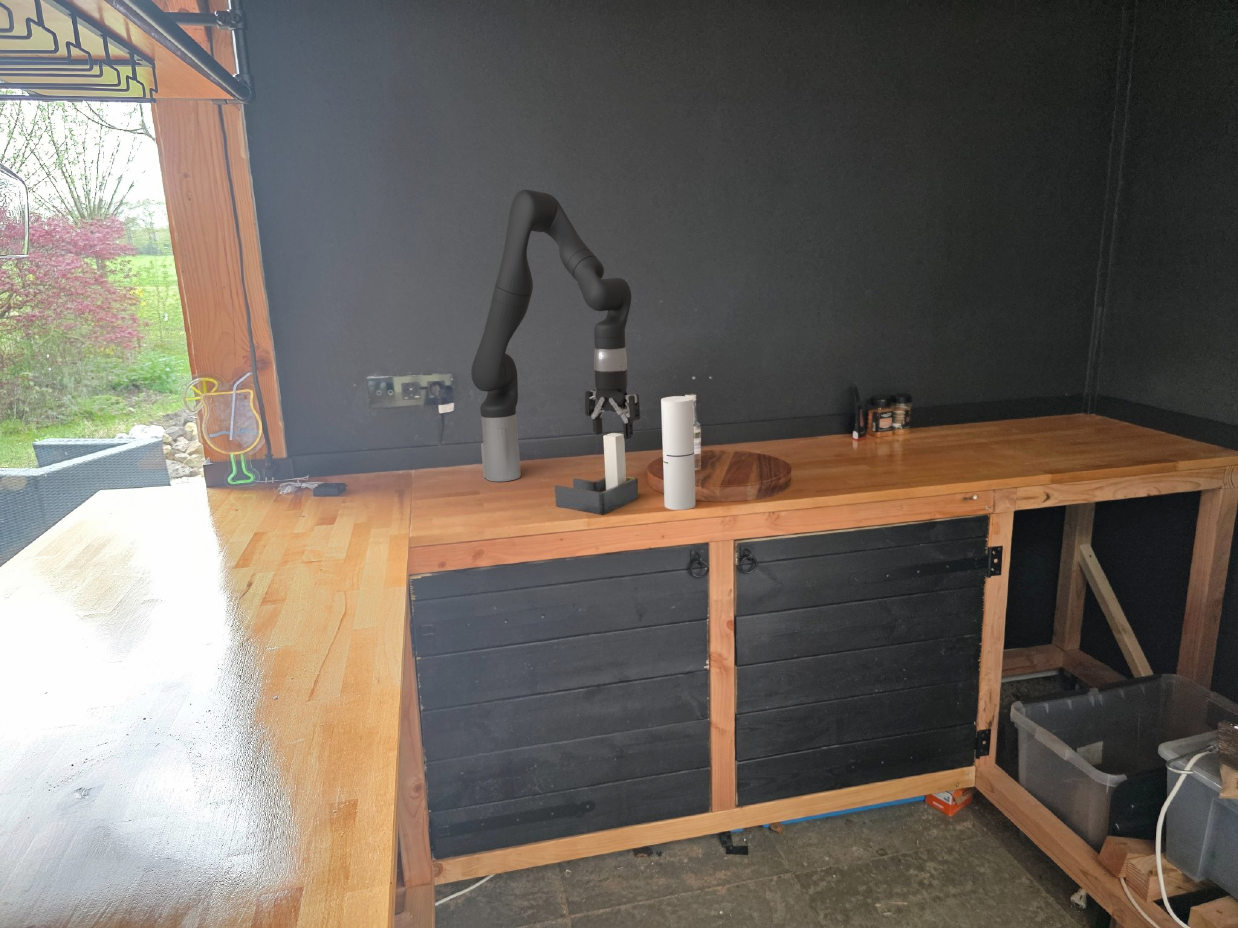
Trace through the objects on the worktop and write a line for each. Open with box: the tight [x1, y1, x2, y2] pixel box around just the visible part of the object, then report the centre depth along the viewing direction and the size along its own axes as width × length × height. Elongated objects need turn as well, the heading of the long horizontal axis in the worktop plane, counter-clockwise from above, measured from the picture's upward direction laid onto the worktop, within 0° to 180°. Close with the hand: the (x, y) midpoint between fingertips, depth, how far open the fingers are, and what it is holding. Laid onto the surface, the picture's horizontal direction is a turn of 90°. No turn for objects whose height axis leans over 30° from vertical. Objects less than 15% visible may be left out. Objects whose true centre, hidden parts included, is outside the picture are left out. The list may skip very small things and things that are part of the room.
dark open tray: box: [554, 476, 640, 516], centre depth 200 cm, size 14×14×5 cm
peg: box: [603, 432, 627, 490], centre depth 199 cm, size 4×4×16 cm
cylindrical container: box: [660, 395, 696, 511], centre depth 192 cm, size 7×7×25 cm
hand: (612, 436), depth 197 cm, fingers open, 8 cm apart
